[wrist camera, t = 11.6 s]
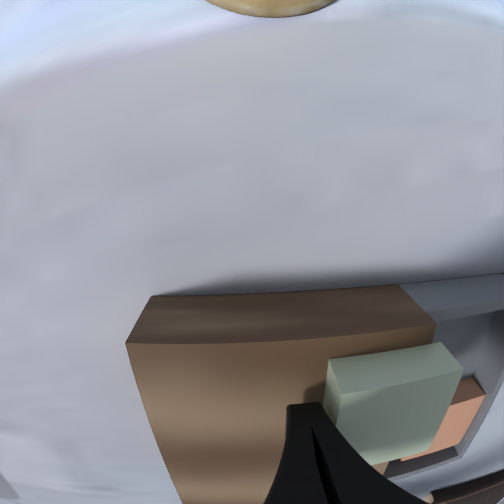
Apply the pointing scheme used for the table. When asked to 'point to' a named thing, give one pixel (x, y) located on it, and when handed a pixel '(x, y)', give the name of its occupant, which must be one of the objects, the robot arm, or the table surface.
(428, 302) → the grey rimmed tray
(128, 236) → the table surface
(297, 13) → the hand bell
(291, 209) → the table surface
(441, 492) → the hardcover book
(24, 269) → the table surface
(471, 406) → the terracotta tile
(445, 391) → the sage green tile
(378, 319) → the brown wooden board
